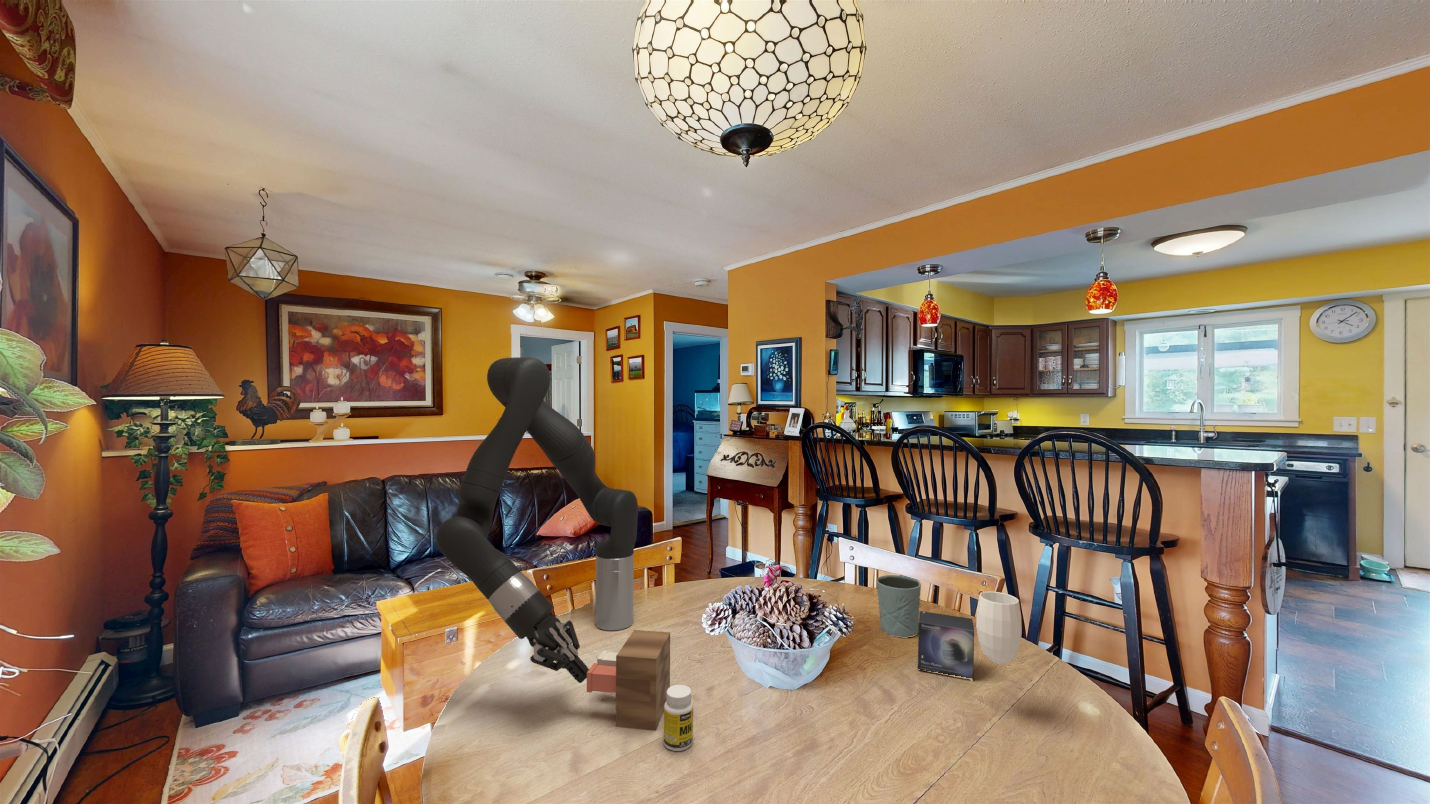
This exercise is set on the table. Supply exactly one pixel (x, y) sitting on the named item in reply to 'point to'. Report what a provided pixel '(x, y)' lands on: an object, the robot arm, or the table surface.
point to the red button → (601, 678)
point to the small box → (946, 644)
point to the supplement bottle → (678, 718)
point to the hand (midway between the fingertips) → (585, 677)
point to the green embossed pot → (899, 604)
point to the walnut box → (642, 679)
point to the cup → (999, 626)
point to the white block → (607, 658)
